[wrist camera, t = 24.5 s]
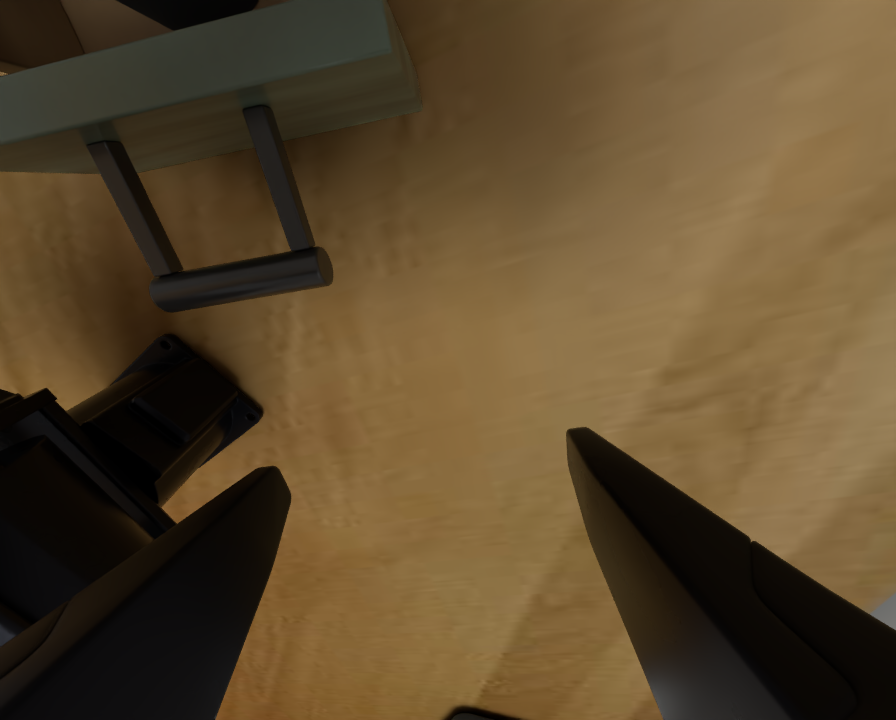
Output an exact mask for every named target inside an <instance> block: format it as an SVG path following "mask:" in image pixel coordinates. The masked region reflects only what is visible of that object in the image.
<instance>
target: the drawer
mask: <svg viewBox="0 0 896 720" xmlns="http://www.w3.org/2000/svg"><path fill="white" fill-rule="evenodd" d="M0 72H4V73H8V75H4V76H0V172H38V173H77V174H101V176H102V178H103V180H104V182H105V183H106V185H107V187H108V189H109V191H110V193H111V195H112V197H113V199H114V201H115V203H116V205H117V206H118V208H119V210H120V212H121V214H122V216H123V218H124V220H125V222H126V224H127V226H128V227H129V229H130V231H131V233H132V235H133V237H134V239H135V241H136V243H137V245H138V247H139V249H140V250H141V252H142V254H143V256H144V258H145V260H146V262H147V264H148V266H149V268H150V270H151V271H152V273H153V275H154V276H155V278H153V279H152V280H151V282H150V285H149V293H150V296H151V298H152V300H153V302H154V303H155V304H156V306H157V307H159V308H160V309H161V310H163V311H166V312H171V313H173V312H179V311H185V310H190V309H196V308H202V307H208V306H214V305H220V304H225V303H231V302H237V301H243V300H249V299H255V298H260V297H266V296H272V295H278V294H284V293H290V292H295V291H301V290H307V289H313V288H319V287H325V286H329V285H330V284H332V282H333V268H332V264H331V261H330V258H329V256H328V254H327V252H326V251H325V250H324V249H323V248H322V247H319V246H317V247H314V246H315V241H314V238H313V235H312V232H311V229H310V226H309V223H308V219H307V216H306V213H305V210H304V207H303V204H302V201H301V198H300V194H299V191H298V188H297V185H296V182H295V179H294V176H293V173H292V169H291V166H290V163H289V160H288V157H287V154H286V151H285V148H284V144H283V141H286V140H291V139H295V138H300V137H305V136H309V135H314V134H318V133H323V132H327V131H332V130H337V129H341V128H346V127H350V126H355V125H360V124H364V123H369V122H373V121H378V120H382V119H387V118H392V117H396V116H401V115H405V114H410V113H414V112H419V111H422V110H423V106H422V100H421V94H420V88H419V83H418V77H417V73H416V70H415V68H414V65H413V63H412V61H411V58H410V56H409V53H408V51H407V48H406V46H405V43H404V41H403V39H402V36H401V34H400V31H399V29H398V26H397V24H396V21H395V19H394V17H393V14H392V12H391V9H390V7H389V4H388V2H387V0H258V2H257V4H256V5H255V7H254V9H253V10H252V11H249V12H245V13H241V14H237V15H233V16H229V17H226V18H222V19H218V20H214V21H210V22H207V23H203V24H199V25H195V26H191V27H187V28H184V29H180V30H176V31H173V30H171V29H169V28H167V27H165V26H163V25H161V24H160V23H158V22H156V21H154V20H152V19H150V18H148V17H146V16H144V15H143V14H141V13H139V12H137V11H135V10H133V9H131V8H129V7H127V6H126V5H124V4H122V3H120V2H118V1H116V0H0ZM254 147H255V149H256V152H257V155H258V158H259V161H260V164H261V167H262V169H263V172H264V175H265V178H266V181H267V184H268V187H269V189H270V192H271V195H272V198H273V201H274V204H275V207H276V209H277V212H278V215H279V218H280V221H281V224H282V227H283V229H284V232H285V235H286V238H287V241H288V244H289V246H290V249H291V251H290V252H284V253H279V254H273V255H268V256H262V257H257V258H252V259H246V260H241V261H235V262H230V263H224V264H219V265H213V266H208V267H203V268H197V269H192V270H186V271H182V270H183V267H182V265H181V263H180V261H179V259H178V257H177V255H176V253H175V251H174V249H173V247H172V245H171V242H170V240H169V238H168V236H167V234H166V232H165V230H164V228H163V226H162V224H161V222H160V220H159V218H158V216H157V214H156V211H155V209H154V207H153V205H152V203H151V201H150V199H149V197H148V195H147V193H146V191H145V189H144V187H143V185H142V183H141V180H140V178H139V176H138V174H137V173H140V172H144V171H149V170H154V169H158V168H163V167H167V166H172V165H177V164H181V163H186V162H190V161H195V160H199V159H204V158H209V157H213V156H218V155H222V154H227V153H231V152H236V151H241V150H245V149H250V148H254ZM179 271H181V272H179Z"/></svg>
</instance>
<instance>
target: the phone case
mask: <svg viewBox="0 0 896 720" xmlns="http://www.w3.org/2000/svg"><path fill="white" fill-rule="evenodd" d="M451 720H494V719H490V718H486V717H482V716H478V715H474V714H470V713H460V714H457V715H455V716H454V717H453V718H452V719H451Z"/></svg>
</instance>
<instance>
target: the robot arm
mask: <svg viewBox="0 0 896 720" xmlns="http://www.w3.org/2000/svg"><path fill="white" fill-rule="evenodd" d="M166 341H167V342H168V343H169V344H170V345H171V346H169V345H168V344H167V342H166ZM56 399H57V398H56V397H55V396H54V395H53V394H52V393H51V392H50V391H49V390H48V389H47V388H44V389H42V390H40V391H37V392H35V393H32V394H30V395H27V396H25V397H22V396H21V395H20V394H19V393H17V394H14V393H11V392H8V391H5V390H2V389H0V720H215V719H216V716H217V713H218V711H219V708H220V705H221V703H222V700H223V698H224V695H225V692H226V690H227V687H228V684H229V682H230V679H231V676H232V674H233V671H234V669H235V666H236V663H237V661H238V658H239V655H240V653H241V650H242V648H243V645H244V642H245V640H246V637H247V634H248V632H249V629H250V626H251V624H252V621H253V619H254V616H255V613H256V611H257V608H258V605H259V603H260V600H261V598H262V595H263V592H264V590H265V587H266V584H267V582H268V579H269V576H270V573H271V570H272V567H273V564H274V561H275V558H276V554H277V551H278V547H279V543H280V540H281V536H282V532H283V529H284V525H285V522H286V518H287V514H288V511H289V507H290V503H291V493H290V490H289V488H288V486H287V484H286V482H285V480H284V478H283V476H282V474H281V472H280V470H279V469H278V468H277V467H276V466H268V467H260V468H257V469H255V470H254V471H252V472H251V473H249V474H248V475H246V476H245V477H244V478H242V479H241V480H239V481H238V482H236V483H235V484H234V485H232V486H231V487H229V488H228V489H226V490H225V491H224V492H222V493H221V494H219V495H218V496H216V497H215V498H214V499H212V500H211V501H209V502H208V503H206V504H205V505H204V506H202V507H201V508H199V509H198V510H196V511H195V512H193V513H192V514H191V515H189V516H188V517H186V518H185V519H183V520H182V521H181V522H179V523H178V524H177V523H176V522H175V521H174V520H173V519H172V518H171V517H170V516H169V515H168V514H167V513H166V512H165V511H164V510H163V509H162V508H161V507H162V506H163V505H164V504H165V503H166V502H167V501H168V500H169V499H170V498H171V497H172V496H173V494H174V493H175V492H176V491H177V490H178V489H179V488H180V487H181V486H182V485H183V484H184V483H185V481H186V480H187V479H188V478H189V477H190V476H191V475H192V474H193V473H194V472H195V471H196V470H197V469H198V468H199V467H201V466H202V465H204V464H205V463H206V462H208V461H209V460H210V459H211V458H213V457H214V456H215V455H217V454H218V453H219V452H220V451H222V450H223V449H224V448H226V447H227V446H228V445H230V444H231V443H232V442H233V441H235V440H236V439H237V438H239V437H240V436H241V435H242V434H244V433H245V432H246V431H248V430H249V429H250V428H251V427H253V426H254V425H255V424H257V423H258V422H259V420H260V419H261V418H262V417H263V413H262V411H261V409H260V408H259V407H257V406H256V405H255V404H254V403H253V402H252V401H250V400H249V399H248V398H247V397H246V396H245V395H244V394H242V393H241V392H240V391H239V390H238V389H237V388H235V387H234V386H233V385H232V384H231V383H230V382H228V381H227V380H226V379H225V378H224V377H223V376H221V375H220V374H219V373H218V372H217V371H216V370H215V369H213V368H212V367H211V366H210V365H209V364H208V363H206V362H205V361H204V360H203V359H202V358H201V357H199V356H198V355H197V354H196V353H195V352H194V351H192V350H191V349H190V348H189V347H188V346H187V345H186V344H184V343H183V342H182V341H181V340H180V339H179V338H177V337H176V336H175V335H173V334H164V335H162V336H160V337H158V338H157V339H156V340H155V341H154V342H153V343H152V344H151V345H150V346H149V347H148V348H147V349H146V350H145V351H144V352H143V353H142V354H141V355H140V356H139V357H138V358H137V359H136V360H135V361H134V362H133V363H132V364H131V365H130V366H129V367H128V368H127V369H126V370H125V371H124V372H123V373H122V374H121V375H120V376H119V377H118V378H117V379H116V380H115V381H114V382H113V383H112V384H111V385H110V386H109V387H107V388H106V389H104V390H102V391H100V392H99V393H97V394H95V395H93V396H92V397H90V398H88V399H86V400H85V401H83V402H81V403H80V404H78V405H76V406H74V407H73V408H71V409H69V410H67V411H65V410H64V409H63V408H62V407H61V406H60V405H59V404H58V403H57V402H56V401H55V400H56ZM250 413H251V414H253V415H254V416H252V415H251V414H250ZM566 442H567V460H568V467H569V471H570V474H571V478H572V481H573V485H574V488H575V492H576V495H577V499H578V502H579V506H580V509H581V513H582V517H583V520H584V524H585V527H586V530H587V533H588V537H589V540H590V542H591V545H592V548H593V550H594V553H595V555H596V558H597V560H598V562H599V565H600V567H601V570H602V572H603V574H604V577H605V579H606V582H607V584H608V586H609V589H610V591H611V594H612V596H613V599H614V601H615V603H616V606H617V608H618V611H619V613H620V615H621V618H622V620H623V623H624V625H625V627H626V630H627V632H628V635H629V637H630V640H631V642H632V644H633V647H634V649H635V652H636V654H637V656H638V659H639V661H640V664H641V666H642V669H643V671H644V673H645V676H646V678H647V681H648V683H649V685H650V688H651V690H652V693H653V695H654V697H655V700H656V702H657V705H658V707H659V710H660V712H661V714H662V717H663V719H664V720H896V630H894V629H893V628H891V627H889V626H888V625H886V624H884V623H883V622H881V621H879V620H878V619H876V618H874V617H873V616H871V615H870V614H868V613H866V612H865V611H863V610H861V609H860V608H858V607H857V606H855V605H853V604H852V603H850V602H848V601H847V600H845V599H843V598H842V597H840V596H839V595H837V594H835V593H834V592H832V591H830V590H829V589H827V588H826V587H824V586H823V585H821V584H820V583H818V582H816V581H815V580H813V579H812V578H810V577H809V576H807V575H806V574H804V573H803V572H801V571H800V570H798V569H797V568H795V567H793V566H792V565H790V564H789V563H787V562H786V561H784V560H783V559H781V558H780V557H778V556H777V555H775V554H774V553H772V552H771V551H769V550H768V549H766V548H765V547H764V546H762V545H761V544H759V543H758V542H756V541H752V542H751V539H750V538H749V537H748V536H747V535H746V534H744V533H743V532H741V531H740V530H738V529H737V528H735V527H734V526H732V525H731V524H729V523H728V522H726V521H725V520H723V519H722V518H720V517H719V516H718V515H716V514H715V513H713V512H712V511H710V510H709V509H707V508H706V507H704V506H703V505H701V504H700V503H698V502H697V501H695V500H694V499H692V498H691V497H689V496H688V495H687V494H685V493H684V492H682V491H681V490H679V489H678V488H676V487H675V486H673V485H672V484H670V483H669V482H667V481H666V480H664V479H663V478H661V477H660V476H659V475H657V474H656V473H654V472H653V471H651V470H650V469H648V468H647V467H645V466H644V465H642V464H641V463H639V462H638V461H636V460H635V459H633V458H632V457H630V456H629V455H628V454H626V453H625V452H623V451H622V450H620V449H619V448H617V447H616V446H614V445H613V444H611V443H610V442H608V441H607V440H605V439H604V438H602V437H601V436H600V435H598V434H597V433H595V432H594V431H592V430H591V429H589V428H587V427H580V428H572V429H568V430H567V432H566Z"/></svg>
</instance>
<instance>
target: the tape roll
mask: <svg viewBox="0 0 896 720" xmlns="http://www.w3.org/2000/svg"><path fill="white" fill-rule="evenodd" d="M116 1H118V2H120V3H122V4H124V5H126V6H127V7H129V8H131V9H133V10H135V11H137V12H139V13H141V14H143V15H144V16H146V17H148V18H150V19H152V20H154V21H156V22H158V23H160V24H161V25H163V26H165V27H167V28H169V29H171V30H173V31H176V30H180V29H184V28H187V27H191V26H195V25H199V24H203V23H207V22H210V21H214V20H218V19H222V18H226V17H229V16H233V15H237V14H241V13H245V12H249V11H252V10H253V9H254V7H255V5H256V4H257V2H258V0H116Z"/></svg>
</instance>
